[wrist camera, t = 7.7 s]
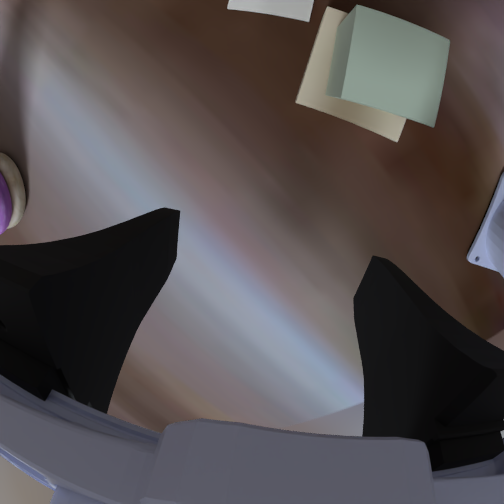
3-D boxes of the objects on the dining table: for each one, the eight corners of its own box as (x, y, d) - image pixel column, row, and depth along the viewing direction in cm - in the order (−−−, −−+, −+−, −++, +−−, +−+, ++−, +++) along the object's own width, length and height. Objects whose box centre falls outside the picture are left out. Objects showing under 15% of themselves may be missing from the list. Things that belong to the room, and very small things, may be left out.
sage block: (407, 49, 12) (450, 40, 8) (395, 114, 14) (433, 127, 10) (337, 27, 12) (356, 4, 8) (325, 95, 14) (341, 98, 10)
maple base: (409, 55, 14) (428, 51, 12) (382, 134, 17) (397, 142, 15) (322, 18, 14) (327, 6, 12) (295, 100, 17) (295, 102, 15)
